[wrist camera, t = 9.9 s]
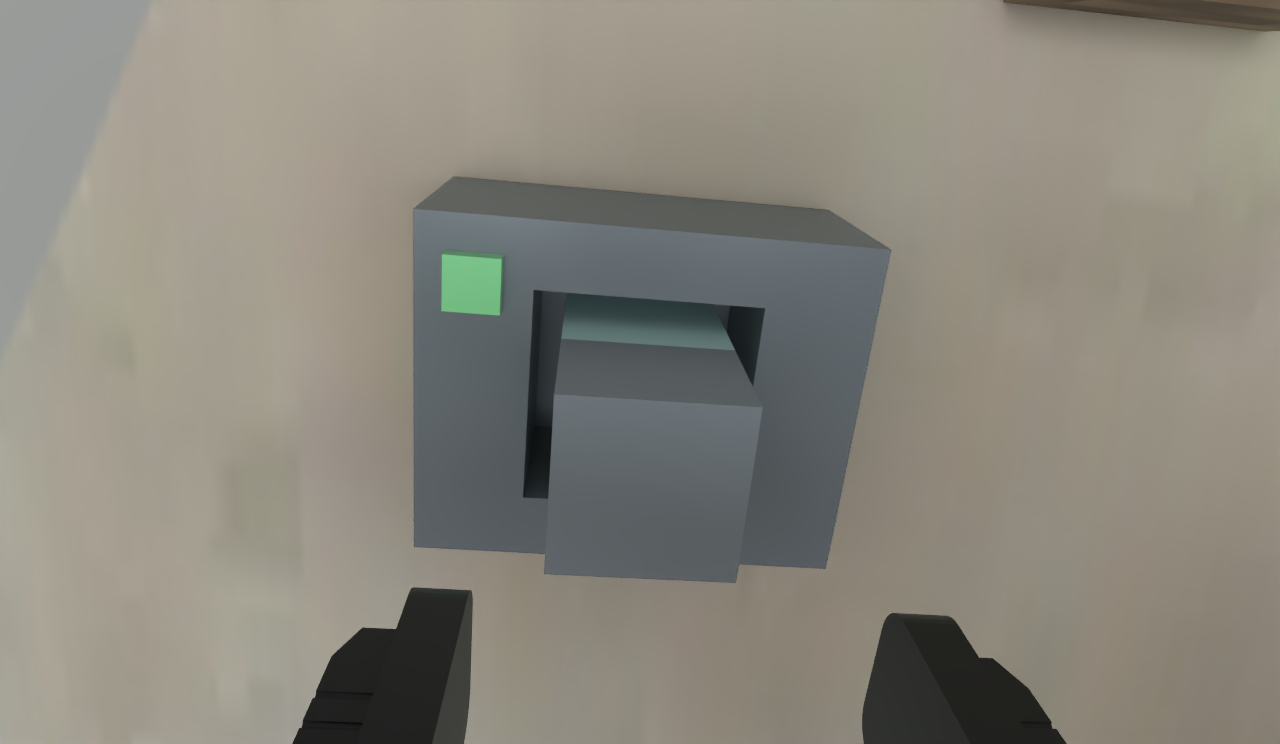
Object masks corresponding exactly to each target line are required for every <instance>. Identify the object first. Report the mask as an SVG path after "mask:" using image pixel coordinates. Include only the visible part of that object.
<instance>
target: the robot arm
mask: <svg viewBox="0 0 1280 744" xmlns="http://www.w3.org/2000/svg"><path fill="white" fill-rule="evenodd" d="M472 606H473V599H472V591H471V590H452V589H432V588H412V589H411V590H410V592H409V595H408V597H407V600H406V603H405V606H404V609H403V611H402V614H401V617H400V620H399V623H398V626H397V628H396V629H380V628H362V629H361V630H359V631H358V632H357V633H356V634H355V635H354V636H353V637H352V638H351V639H350V640H349V641H348V642H346V643H345V644H344V645H343V646H342V647H341V648H340V649H339V650H338V651H337V652H336V653H335V654H334V655H332V657H331V659H330V661H329V663H328V666H327V668H326V670H325V672H324V674H323V677H322V679H321V681H320V683H319V686H318V688H317V690H316V696H315V698H313V699H312V701H311V703H310V706H309V708H308V710H307V712H306V715H305V717H304V719H303V725H302V728H299V730H298V732H297V735H296V737H295V739H294V741H293V744H464V739H465V733H466V726H467V718H468V709H469V698H470V675H471V641H472ZM1051 723H1052V722H1051V721H1050V719H1049V718H1048V716H1047V715H1046V713H1045V712H1044V710H1043V709H1042V708H1041V706H1040V705H1039V703H1038V702H1037V700H1036V699H1035V697H1034V696H1033V694H1032V693H1031V692H1030V690H1029V689H1028V688H1027V687H1026V686H1025V685H1024V684H1023V683H1021V682H1020V681H1019V680H1018V679H1017V678H1015V677H1014V676H1013V675H1012V674H1011V673H1009V672H1008V671H1007V670H1006V669H1005V668H1003V667H1002V666H1001V665H1000V664H999V663H997V662H996V661H995V660H994V659H993V658H979V657H978V655H977V654H976V652H975V651H974V649H973V648H972V646H971V644H970V643H969V641H968V640H967V638H966V637H965V635H964V634H963V632H962V630H961V629H960V627H959V626H958V624H957V623H956V622H955V620H954V619H952V618H951V617H949V616H940V615H921V614H901V613H892V614H890V615H889V616H888V617H887V618H886V620H885V622H884V624H883V628H882V631H881V635H880V640H879V644H878V648H877V652H876V656H875V660H874V664H873V669H872V673H871V677H870V681H869V685H868V689H867V693H866V697H865V702H864V706H863V715H862V730H863V740H864V744H1066V742H1065V741H1064V739H1063V738H1062V737H1061V735H1060V734H1059V732H1058V731H1057V729H1052V726H1051Z"/></svg>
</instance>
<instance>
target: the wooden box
mask: <svg viewBox="0 0 1280 744" xmlns="http://www.w3.org/2000/svg"><path fill="white" fill-rule="evenodd" d="M1004 2H1008V3H1017V4H1026V5H1035V6H1044V7H1053V8H1062V9H1071V10H1080V11H1089V12H1098V13H1106V14H1115V15H1124V16H1133V17H1142V18H1151V19H1160V20H1169V21H1178V22H1187V23H1195V24H1204V25H1213V26H1222V27H1231V28H1240V29H1249V30H1258V31H1280V0H1004Z"/></svg>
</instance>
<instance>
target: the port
mask: <svg viewBox="0 0 1280 744" xmlns="http://www.w3.org/2000/svg"><path fill="white" fill-rule="evenodd" d="M890 253H891V249H889V248H888V247H886V246H884V245H883V244H881V243H880V242H878V241H877V240H875V239H873V238H872V237H870V236H869V235H867V234H866V233H864V232H862V231H861V230H859V229H858V228H856V227H854V226H853V225H851V224H850V223H848V222H847V221H845V220H843V219H842V218H840V217H839V216H837V215H836V214H834V213H832V212H831V211H829V210H821V209H810V208H799V207H788V206H777V205H765V204H754V203H743V202H732V201H721V200H709V199H698V198H687V197H676V196H665V195H653V194H642V193H631V192H620V191H609V190H598V189H586V188H575V187H564V186H553V185H542V184H530V183H519V182H508V181H497V180H486V179H475V178H463V177H453V178H451V179H450V180H449V181H448V182H446V183H445V184H444V185H443V186H441V187H440V188H439V189H438V190H436V191H435V192H434V193H432V194H431V195H430V196H429V197H427V198H426V199H425V200H424V201H422V202H421V203H420V204H419V205H417V206H416V207H415V208H414V209H413V266H414V547H426V548H444V549H463V550H482V551H501V552H519V553H538V554H545V549H546V531H547V513H548V495H549V477H550V460H551V442H552V424H553V406H554V392H555V384H556V376H557V368H558V360H559V352H560V345H561V337H562V329H563V321H564V313H565V306H566V298H567V293H578V294H591V295H604V296H616V297H629V298H642V299H654V300H667V301H679V302H692V303H705V304H713V305H714V308H715V310H716V312H717V314H718V316H719V318H720V320H721V322H722V324H723V326H724V328H725V330H726V332H727V334H728V336H729V339H730V341H731V343H732V345H733V347H734V349H735V351H736V353H737V355H738V357H739V359H740V361H741V363H742V365H743V368H744V370H745V372H746V374H747V376H748V378H749V380H750V382H751V384H752V386H753V388H754V390H755V392H756V394H757V397H758V399H759V401H760V403H761V405H762V407H763V409H762V416H761V422H760V429H759V435H758V442H757V448H756V455H755V461H754V468H753V474H752V481H751V487H750V494H749V501H748V507H747V514H746V520H745V527H744V533H743V540H742V546H741V553H740V559H739V564H744V565H763V566H782V567H801V568H819V569H826V565H827V560H828V555H829V550H830V545H831V540H832V536H833V531H834V526H835V521H836V516H837V511H838V506H839V501H840V497H841V492H842V487H843V482H844V477H845V472H846V467H847V462H848V458H849V453H850V448H851V443H852V438H853V433H854V428H855V423H856V419H857V414H858V409H859V404H860V399H861V394H862V389H863V384H864V380H865V375H866V370H867V365H868V360H869V355H870V350H871V346H872V341H873V336H874V331H875V326H876V321H877V316H878V311H879V307H880V302H881V297H882V292H883V287H884V282H885V277H886V272H887V268H888V263H889V258H890Z"/></svg>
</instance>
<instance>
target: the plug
mask: <svg viewBox="0 0 1280 744" xmlns="http://www.w3.org/2000/svg"><path fill="white" fill-rule="evenodd" d="M762 409H763V407H762V405H761V403H760V401H759V399H758V397H757V394H756V392H755V390H754V388H753V386H752V384H751V382H750V380H749V378H748V376H747V374H746V372H745V370H744V368H743V365H742V363H741V361H740V359H739V357H738V355H737V353H736V351H735V349H734V347H733V345H732V343H731V341H730V339H729V336H728V334H727V332H726V330H725V328H724V326H723V324H722V322H721V320H720V318H719V316H718V314H717V312H716V310H715V308H714V305H713V304H705V303H692V302H679V301H667V300H654V299H642V298H629V297H616V296H604V295H591V294H578V293H567V298H566V306H565V313H564V321H563V329H562V337H561V345H560V352H559V360H558V368H557V376H556V384H555V392H554V406H553V424H552V442H551V460H550V477H549V495H548V513H547V531H546V549H545V567H544V574H554V575H576V576H598V577H620V578H642V579H663V580H685V581H707V582H729V583H736V579H737V572H738V566H739V559H740V553H741V546H742V540H743V533H744V527H745V520H746V514H747V507H748V501H749V494H750V487H751V481H752V474H753V468H754V461H755V455H756V448H757V442H758V435H759V429H760V422H761V416H762Z"/></svg>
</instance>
